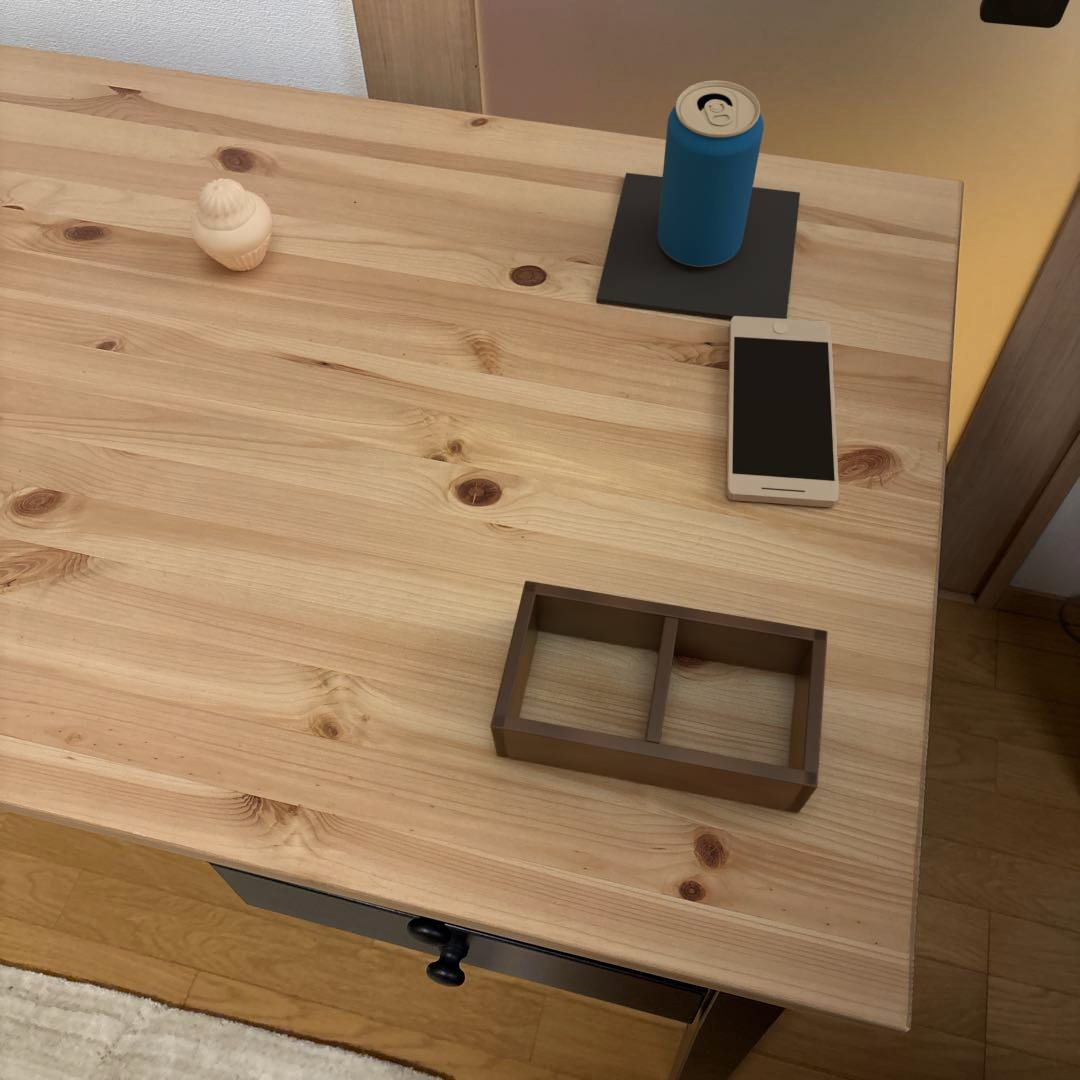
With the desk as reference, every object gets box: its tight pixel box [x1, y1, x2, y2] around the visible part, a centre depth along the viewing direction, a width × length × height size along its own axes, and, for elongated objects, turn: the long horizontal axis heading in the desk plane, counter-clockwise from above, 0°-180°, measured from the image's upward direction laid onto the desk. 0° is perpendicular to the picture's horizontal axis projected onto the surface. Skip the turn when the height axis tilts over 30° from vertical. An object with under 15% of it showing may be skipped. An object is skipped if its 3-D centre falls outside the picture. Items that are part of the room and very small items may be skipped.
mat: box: [595, 172, 801, 321], centre depth 77 cm, size 14×14×1 cm
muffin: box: [189, 177, 273, 272], centre depth 76 cm, size 6×6×7 cm
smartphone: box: [726, 316, 840, 508], centre depth 69 cm, size 7×15×1 cm, turn 174°
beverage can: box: [657, 79, 765, 267], centre depth 72 cm, size 6×6×12 cm
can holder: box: [490, 580, 829, 814], centre depth 57 cm, size 17×9×5 cm, turn 78°
